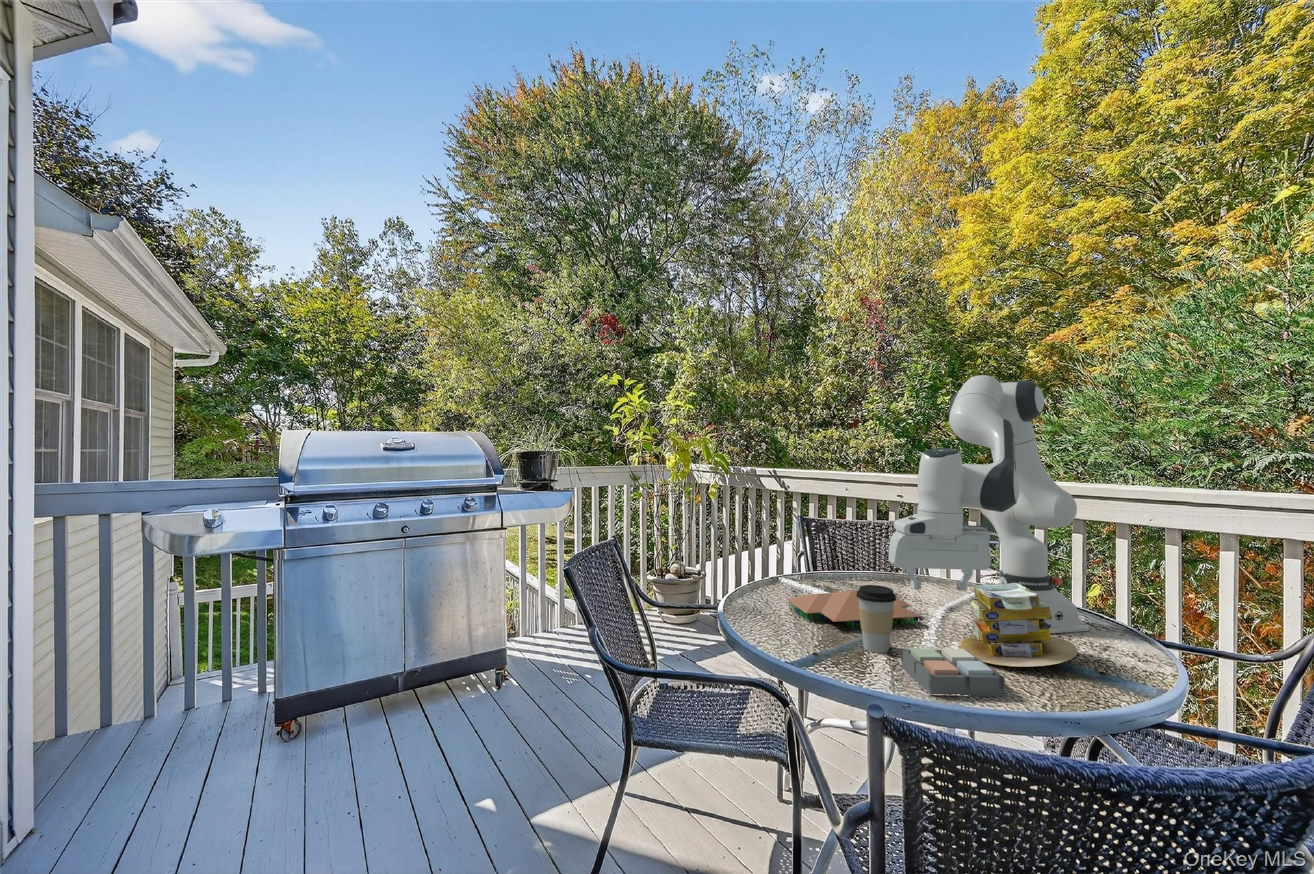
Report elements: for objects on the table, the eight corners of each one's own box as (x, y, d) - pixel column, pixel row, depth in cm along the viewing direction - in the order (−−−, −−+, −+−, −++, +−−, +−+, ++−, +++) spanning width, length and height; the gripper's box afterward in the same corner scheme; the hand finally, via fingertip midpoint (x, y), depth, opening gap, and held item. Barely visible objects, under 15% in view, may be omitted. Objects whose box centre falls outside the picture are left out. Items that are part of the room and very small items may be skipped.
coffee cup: (895, 644, 149) (895, 585, 149) (897, 658, 140) (897, 595, 140) (855, 640, 152) (856, 582, 152) (855, 653, 143) (856, 592, 143)
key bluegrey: (980, 670, 126) (980, 660, 126) (992, 679, 121) (992, 670, 121) (956, 669, 126) (956, 660, 126) (968, 679, 121) (968, 670, 121)
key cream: (963, 657, 133) (963, 648, 133) (975, 666, 128) (975, 657, 128) (941, 657, 133) (941, 648, 133) (952, 666, 128) (952, 657, 128)
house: (929, 627, 163) (929, 598, 163) (818, 634, 158) (818, 604, 157) (884, 603, 186) (884, 578, 186) (785, 609, 180) (785, 582, 180)
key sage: (932, 657, 133) (932, 648, 133) (942, 666, 128) (942, 657, 128) (910, 657, 133) (910, 648, 133) (919, 665, 128) (919, 656, 128)
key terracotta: (947, 669, 126) (947, 660, 126) (958, 679, 121) (958, 670, 121) (923, 669, 126) (923, 660, 126) (934, 679, 121) (934, 669, 121)
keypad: (967, 667, 134) (967, 649, 134) (1004, 696, 119) (1004, 677, 119) (901, 666, 135) (901, 649, 135) (930, 696, 120) (930, 676, 120)
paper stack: (954, 662, 137) (955, 592, 137) (960, 631, 159) (960, 570, 159) (1083, 685, 125) (1084, 608, 125) (1070, 648, 147) (1071, 582, 146)
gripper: (982, 523, 127) (981, 586, 127) (886, 521, 128) (885, 584, 128) (997, 527, 121) (996, 594, 121) (897, 525, 122) (895, 591, 122)
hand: (938, 589), depth 124 cm, fingers open, 8 cm apart
